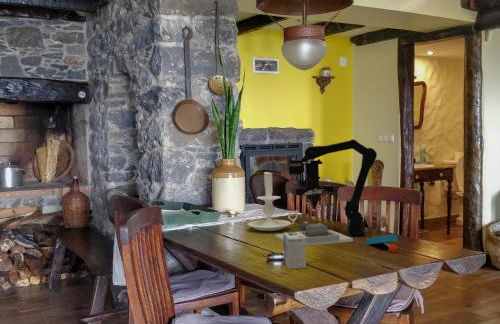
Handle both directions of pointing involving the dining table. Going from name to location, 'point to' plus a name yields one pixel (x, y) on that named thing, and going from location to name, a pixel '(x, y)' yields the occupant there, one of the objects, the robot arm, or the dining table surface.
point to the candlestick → (270, 210)
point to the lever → (384, 241)
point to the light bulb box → (294, 250)
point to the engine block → (316, 230)
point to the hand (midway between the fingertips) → (313, 209)
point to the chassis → (322, 238)
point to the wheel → (302, 225)
